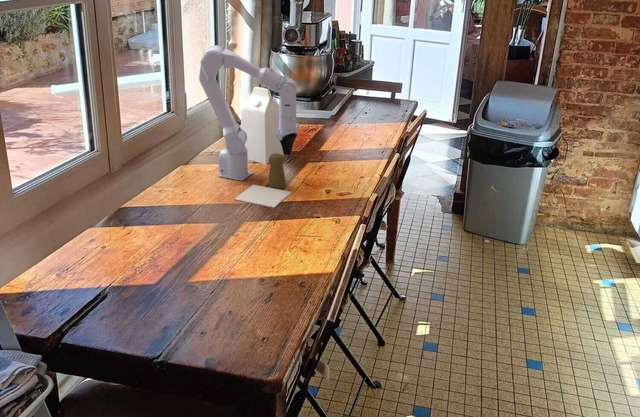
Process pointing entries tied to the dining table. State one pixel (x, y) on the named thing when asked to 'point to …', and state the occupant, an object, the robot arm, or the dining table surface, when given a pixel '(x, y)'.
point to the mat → (263, 196)
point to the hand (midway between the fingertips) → (287, 154)
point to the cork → (276, 171)
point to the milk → (261, 125)
